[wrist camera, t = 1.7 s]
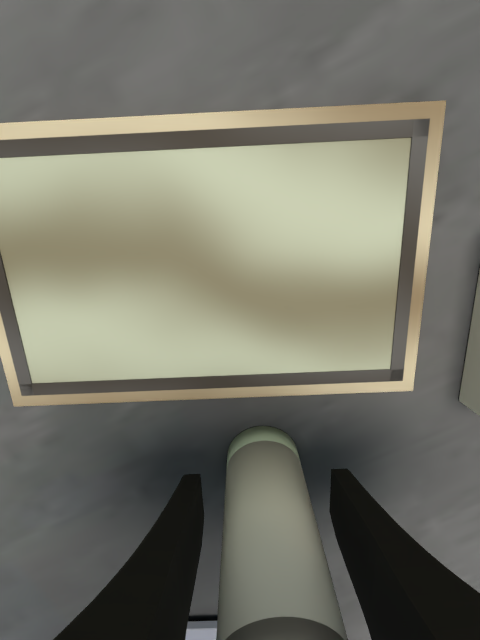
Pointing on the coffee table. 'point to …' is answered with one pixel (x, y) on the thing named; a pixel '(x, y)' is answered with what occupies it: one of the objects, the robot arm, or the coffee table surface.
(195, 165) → the picture frame
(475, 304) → the button housing
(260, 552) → the cylinder
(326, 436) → the coffee table surface
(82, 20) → the coffee table surface
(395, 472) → the coffee table surface
